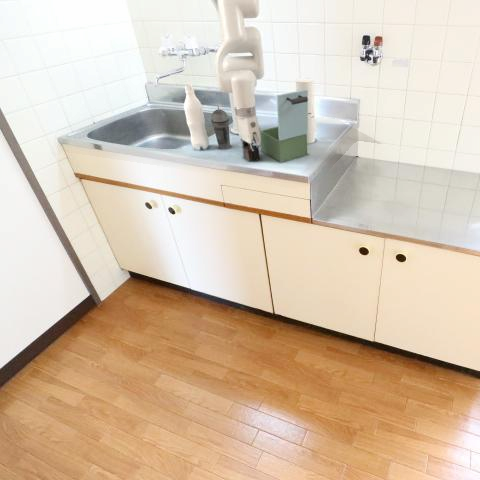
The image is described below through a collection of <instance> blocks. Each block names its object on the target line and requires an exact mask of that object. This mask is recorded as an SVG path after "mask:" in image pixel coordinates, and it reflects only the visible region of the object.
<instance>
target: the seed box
mask: <svg viewBox="0 0 480 480" xmlns="http://www.w3.org/2000/svg"><path fill="white" fill-rule="evenodd" d="M260 135H261V141H260V151H261V152H263V153H264V154H266V155H268V156H270V157H271V158H273V159H274V160H276V161H278V162H280V163H283V162H287V161H290V160H294V159H297V158H301V157H305V156H307V155H308V153H309V152H308V144H307V134H304V135H300V136H296V137H292V138H288V139H284V140H281V141H280V140H279V133H278V126H274V127H270V128H266V129H261V130H260Z"/></svg>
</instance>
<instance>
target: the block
mask: <svg viewBox="0 0 480 480" xmlns="http://www.w3.org/2000/svg"><path fill="white" fill-rule="evenodd" d="M252 145H253V147H254V145H255V144H252ZM251 151H252V150H251V147H250V145H249V146H245V147H242V153H243V159H245V160H246V161H248V162H253V161H252V158H251Z"/></svg>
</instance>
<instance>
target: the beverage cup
mask: <svg viewBox="0 0 480 480" xmlns="http://www.w3.org/2000/svg"><path fill="white" fill-rule="evenodd" d="M215 100H216V106H217V109H215V110H214V111H213V112H211V115H210V122H211V125H212V126H213V131H214V134H215V138H216V142H217V145H218V148H219V150H227V149H230V148H231V139H230V126H229V125H230V118H229V114H228V113H227V112H226V111H225V110H223V109H220V105H219V99H218V98H216V99H215Z"/></svg>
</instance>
